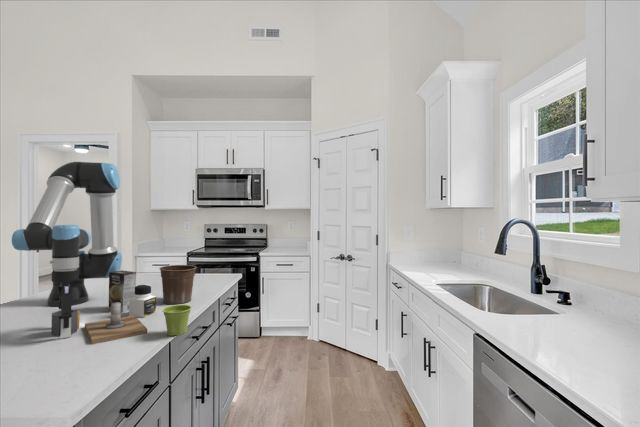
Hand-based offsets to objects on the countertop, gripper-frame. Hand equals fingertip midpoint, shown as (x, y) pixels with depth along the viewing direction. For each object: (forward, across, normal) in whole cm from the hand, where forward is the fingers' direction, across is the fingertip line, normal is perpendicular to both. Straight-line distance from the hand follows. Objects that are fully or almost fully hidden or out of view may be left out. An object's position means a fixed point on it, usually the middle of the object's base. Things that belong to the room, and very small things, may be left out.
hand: (64, 332), depth 117 cm
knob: (0, 0, 0) cm, 0 cm away
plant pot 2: (0, +24, +30) cm, 38 cm away
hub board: (0, +8, +14) cm, 16 cm away
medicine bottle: (0, -7, +26) cm, 27 cm away
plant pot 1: (0, -20, +44) cm, 48 cm away
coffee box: (0, -21, +21) cm, 30 cm away
